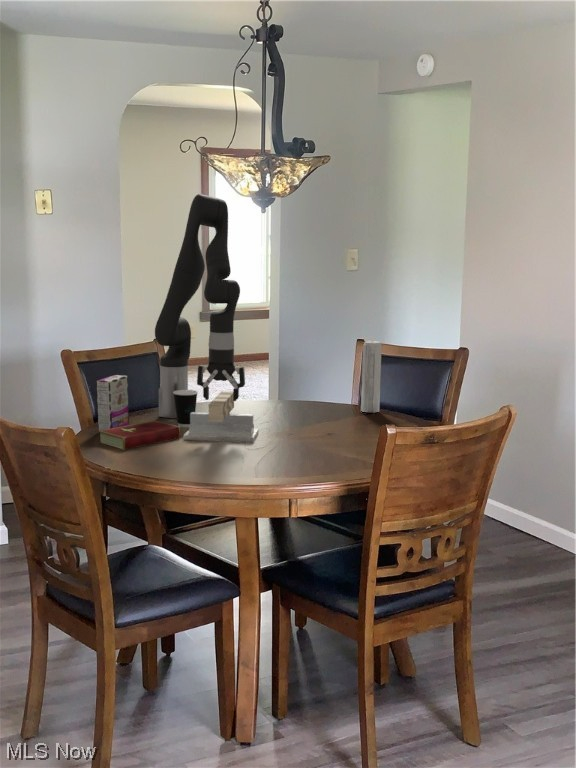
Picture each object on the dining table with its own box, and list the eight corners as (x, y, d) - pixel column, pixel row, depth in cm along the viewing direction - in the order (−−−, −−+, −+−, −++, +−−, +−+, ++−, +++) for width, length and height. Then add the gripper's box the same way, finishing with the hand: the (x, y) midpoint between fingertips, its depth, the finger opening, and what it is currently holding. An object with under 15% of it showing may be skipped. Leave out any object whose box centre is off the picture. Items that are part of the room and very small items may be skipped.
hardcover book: (180, 439, 254) (180, 425, 253) (123, 451, 239) (123, 437, 238) (155, 432, 262) (155, 419, 261) (98, 444, 246) (98, 430, 246)
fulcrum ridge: (183, 439, 251) (183, 416, 250) (191, 430, 263) (191, 408, 262) (253, 442, 249) (253, 419, 248) (258, 433, 261) (258, 411, 260)
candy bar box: (115, 425, 269) (114, 374, 267) (129, 426, 268) (128, 375, 265) (97, 432, 259) (95, 379, 256) (111, 433, 257) (110, 381, 255)
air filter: (382, 411, 297) (384, 341, 293) (374, 414, 292) (376, 343, 288) (365, 409, 301) (368, 340, 296) (357, 412, 295) (359, 341, 291)
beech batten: (221, 406, 266) (221, 391, 265) (234, 407, 266) (234, 391, 265) (208, 421, 245) (208, 404, 244) (222, 422, 244) (222, 405, 243)
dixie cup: (192, 429, 265) (192, 394, 264) (169, 427, 268) (168, 393, 266) (201, 424, 273) (201, 390, 271) (179, 422, 275) (179, 389, 273)
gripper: (246, 346, 254) (246, 398, 257) (200, 344, 256) (200, 396, 259) (243, 349, 247) (242, 403, 250) (195, 347, 248) (195, 401, 251)
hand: (220, 400), depth 254 cm, fingers open, 8 cm apart
